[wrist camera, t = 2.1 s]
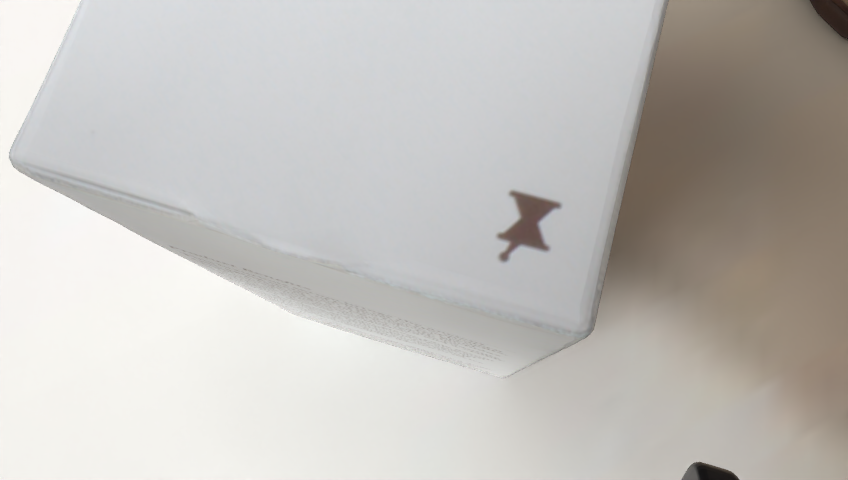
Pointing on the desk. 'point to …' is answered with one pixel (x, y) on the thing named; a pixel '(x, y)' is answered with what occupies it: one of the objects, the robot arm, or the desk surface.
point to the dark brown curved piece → (834, 14)
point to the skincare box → (364, 155)
